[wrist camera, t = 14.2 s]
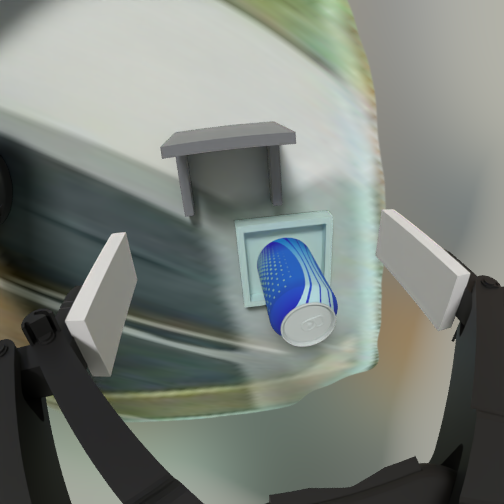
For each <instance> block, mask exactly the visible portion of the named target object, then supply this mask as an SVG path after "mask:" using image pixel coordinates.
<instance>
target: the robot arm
mask: <svg viewBox="0 0 504 504" xmlns="http://www.w3.org/2000/svg"><path fill="white" fill-rule="evenodd" d="M11 204H12V182H11V177H10V174H9V171H8V168H7V166H6V164H5V162H4V160H3V158H2V157H1V156H0V224H2V223H3V222H4V220H5V219H6V218H7V216H8V214H9V211H10V208H11ZM376 256H377V258H378V259H379V260H380V261H381V262H382V263H383V264H384V266H385V267H386V268H387V269H388V270H389V271H390V272H391V274H392V275H393V276H394V277H395V278H396V279H397V280H398V282H399V283H400V284H401V285H402V287H403V288H404V289H405V290H406V291H407V293H408V294H409V295H410V296H411V297H412V299H413V300H414V301H415V302H416V304H417V305H418V306H419V307H420V309H421V310H422V311H423V312H424V314H425V315H426V316H427V317H428V319H429V320H430V321H431V322H432V324H433V325H434V326H435V327H436V329H437V330H438V331H440V330H444V329H447V328H450V327H451V326H452V324H453V321H454V319H455V316H456V317H457V318H458V319H459V320H460V323H459V325H458V327H457V330H456V332H455V334H454V337H453V339H452V341H454V340H455V339H456V346H455V353H454V361H453V368H452V374H451V380H450V387H449V392H448V397H447V402H446V407H445V411H444V416H443V421H442V425H441V429H440V433H439V437H438V440H437V444H436V448H435V451H434V454H433V456H432V458H431V460H430V462H429V463H420V464H419V463H418V461H417V459H416V457H412V458H409V459H407V460H404V461H402V462H399V463H396V464H393V465H391V466H388V467H385V468H383V469H381V470H380V471H378V472H377V473H375V474H373V475H372V476H370V477H368V478H367V479H365V480H363V481H361V482H360V483H358V484H356V485H354V486H352V487H348V488H308V489H303V490H297V491H292V492H286V493H280V494H274V495H269V503H266V504H504V287H501V286H500V284H499V283H498V282H497V281H496V280H495V279H493V278H490V277H489V276H483V275H482V276H478V277H477V276H476V275H475V274H474V273H473V272H472V271H471V270H470V269H469V268H467V267H466V266H465V265H464V264H463V263H462V262H461V261H460V260H458V259H457V258H456V257H455V256H453V254H451V253H450V252H448V251H447V250H445V249H443V248H441V247H440V246H439V245H438V244H436V243H435V242H434V241H433V240H432V239H431V238H429V237H428V236H427V235H426V234H424V233H423V232H422V231H421V230H419V229H418V228H417V227H416V226H415V225H413V224H412V223H411V222H409V221H408V220H407V219H406V218H404V217H403V216H402V215H400V214H399V213H398V212H396V211H395V210H394V209H390V210H382V212H381V220H380V228H379V235H378V242H377V249H376ZM136 282H137V276H136V272H135V269H134V265H133V261H132V256H131V252H130V248H129V244H128V239H127V235H126V232H123V233H115V234H111V236H110V238H109V239H108V241H107V243H106V244H105V246H104V248H103V249H102V251H101V253H100V255H99V256H98V258H97V260H96V262H95V264H94V265H93V267H92V269H91V271H90V273H89V275H88V276H87V278H86V280H85V282H84V284H83V285H82V286H75V287H74V288H73V289H72V290H71V291H70V292H69V293H68V294H67V296H66V297H65V299H64V302H63V303H62V305H61V307H60V309H59V310H58V312H57V314H56V316H54V314H53V312H52V311H51V310H50V309H46V308H43V309H38V310H35V311H33V312H31V313H30V314H28V315H27V316H26V317H25V318H24V320H23V322H22V324H21V327H22V330H23V332H24V334H25V336H26V338H27V339H28V341H29V343H30V345H28V346H24V347H20V348H16V346H15V344H14V342H12V341H11V340H9V339H4V340H1V341H0V504H72V503H71V501H70V498H69V495H68V491H67V488H66V485H65V482H64V478H63V476H62V471H61V468H60V464H59V460H58V456H57V452H56V448H55V444H54V440H53V435H52V430H51V425H50V420H49V415H48V409H47V403H46V397H47V396H51V395H54V397H55V399H56V401H57V403H58V405H59V407H60V409H61V411H62V413H63V414H64V416H65V418H66V419H67V422H68V423H69V425H70V427H71V429H72V430H73V432H74V434H75V435H76V437H77V439H78V440H79V442H80V443H81V445H82V447H83V448H84V450H85V452H86V453H87V455H88V456H89V458H90V459H91V461H92V462H93V464H94V465H95V467H96V468H97V470H98V471H99V472H100V474H101V475H102V477H103V478H104V479H105V481H106V482H107V483H108V485H109V486H110V488H111V489H112V490H113V492H114V493H115V494H116V495H117V497H118V498H119V499H120V501H121V502H122V503H123V504H203V503H202V502H201V501H200V500H199V499H198V498H197V497H196V496H195V495H194V494H193V493H191V492H190V491H189V490H188V489H187V488H186V487H185V486H184V485H183V484H182V483H181V482H179V481H178V480H177V479H175V478H174V477H173V476H171V475H170V473H169V472H168V471H167V470H166V469H165V468H164V467H163V466H162V465H161V464H160V463H159V462H158V461H157V460H156V459H155V458H154V457H153V455H152V454H151V453H150V452H149V451H148V450H147V449H146V448H145V447H144V446H143V444H142V443H141V442H140V441H139V440H138V438H137V437H136V436H135V435H134V434H133V433H132V431H131V430H130V429H129V428H128V426H127V425H126V424H125V423H124V421H123V420H122V419H121V418H120V416H119V415H118V414H117V413H116V411H115V410H114V409H113V407H112V406H111V405H110V403H109V402H108V401H107V399H106V398H105V397H104V395H103V394H102V393H101V391H100V390H99V388H98V387H97V386H96V384H95V383H94V381H93V380H92V378H91V377H90V375H89V374H88V372H87V371H86V369H87V367H88V368H89V370H90V372H91V374H92V376H102V377H111V373H112V369H113V365H114V361H115V357H116V353H117V349H118V345H119V341H120V337H121V334H122V330H123V326H124V323H125V319H126V316H127V312H128V309H129V305H130V302H131V299H132V295H133V292H134V289H135V286H136Z"/></svg>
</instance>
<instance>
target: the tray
mask: <svg viewBox="0 0 504 504" xmlns="http://www.w3.org/2000/svg"><path fill="white" fill-rule="evenodd" d="M234 221H235V230H236V238H237V247H238V256H239V265H240V274H241V282H242V291H243V299H244V306H245V308H246V307H254V306H261V305H266V303H265V298H264V294H263V290H262V286H261V282H260V278H259V273H258V269H257V260H258V256H259V254H260V252H261V251H262V249H263V248H264V247H265V246H266V245H267V244H269V243H270V242H272V241H274V240H276V239H279V238H285V237H289V238H295V239H298V240H300V241H302V242H303V243H304V244H305V245H306V246H307V247H308V248H309V250H310V252H311V254H312V255H313V257H314V259H315V261H316V263H317V264H318V266H319V268H320V270H321V272H322V273H323V275H324V277H325V279H326V281H327V282H328V284H329V286H330V276H331V258H332V234H333V216H332V215H331V214H330V213H329V211H328V210H326V211H316V212H306V213H296V214H287V215H277V216H268V217H259V218H251V219H242V220H234Z"/></svg>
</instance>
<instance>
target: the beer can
mask: <svg viewBox="0 0 504 504" xmlns="http://www.w3.org/2000/svg"><path fill="white" fill-rule="evenodd" d="M257 269H258V273H259V278H260V282H261V286H262V290H263V294H264V298H265V303H266V307H267V311H268V315H269V319H270V323H271V326H272V328H273V329H274V331H275V332H276V333H277V334H279V335H280V336H282V337H283V338H284V340H285V341H286V342H288V343H289V344H291V345H294V346H299V347H306V346H311V345H315V344H317V343H319V342H321V341H323V340H324V339H326V338H327V337H328V336H329V335H330V334H331V333H332V331H333V330H334V328H335V325H336V314H337V309H338V305H337V300H336V297H335V295H334V294H333V292H332V290H331V288H330V286H329V284H328V282H327V281H326V279H325V277H324V275H323V273H322V272H321V270H320V268H319V266H318V264H317V263H316V261H315V259H314V257H313V255H312V254H311V252H310V250H309V248H308V247H307V246H306V245H305V244H304V243H303V242H302V241H300V240H298V239H295V238H289V237H285V238H279V239H276V240H274V241H272V242H270V243H269V244H267V245H266V246H265V247H264V248H263V249H262V251H261V252H260V254H259V256H258V260H257Z"/></svg>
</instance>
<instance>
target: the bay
mask: <svg viewBox="0 0 504 504" xmlns="http://www.w3.org/2000/svg"><path fill="white" fill-rule="evenodd" d="M286 144H296V134H295V132H294V131H292V130H290V129H288V128H286V127H284V126H282V125H280V124H278V123H276V122H262V123H250V124H239V125H229V126H220V127H212V128H204V129H196V130H189V131H182V132H176V133H174V134H173V135H172V136H171V137H170V138H169V139H168V140H167V141H166V142H165V143H164V144H163V145H162V146H161V147H160V148H161V155H162V159H164V158H170V157H176V162H177V169H178V175H179V182H180V188H181V194H182V200H183V206H184V212H185V217H186V216H193V215H194V212H195V206H194V200H193V193H192V186H191V179H190V173H189V165H188V158H187V155H190V154H198V153H205V152H213V151H221V150H230V149H239V148H249V147H260V146H267V155H268V170H269V185H270V200H271V202H272V204H273V206H278V205H282V192H281V173H280V155H279V145H286Z"/></svg>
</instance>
